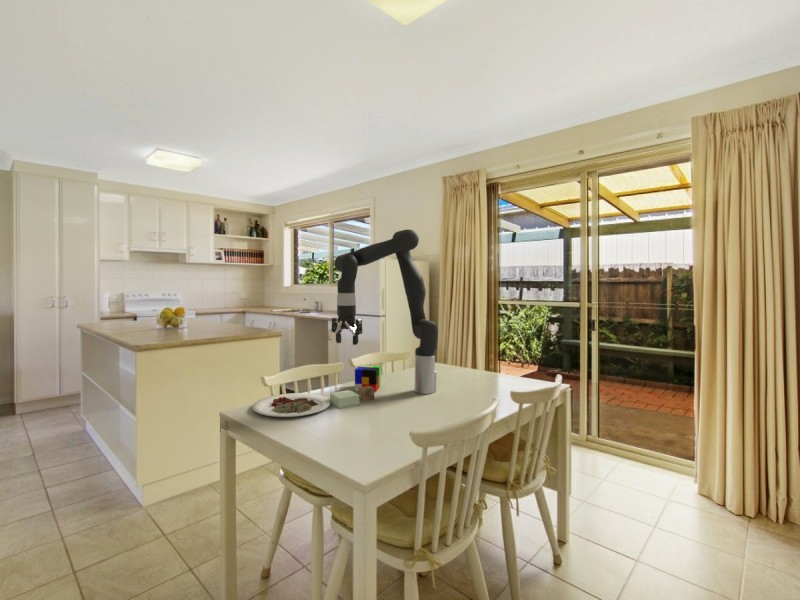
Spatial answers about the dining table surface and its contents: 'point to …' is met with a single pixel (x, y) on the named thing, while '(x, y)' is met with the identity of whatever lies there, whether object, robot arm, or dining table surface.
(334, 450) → the dining table surface
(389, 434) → the dining table surface
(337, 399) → the pedestal
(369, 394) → the walnut block
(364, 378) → the puzzle toy
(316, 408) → the plated food
